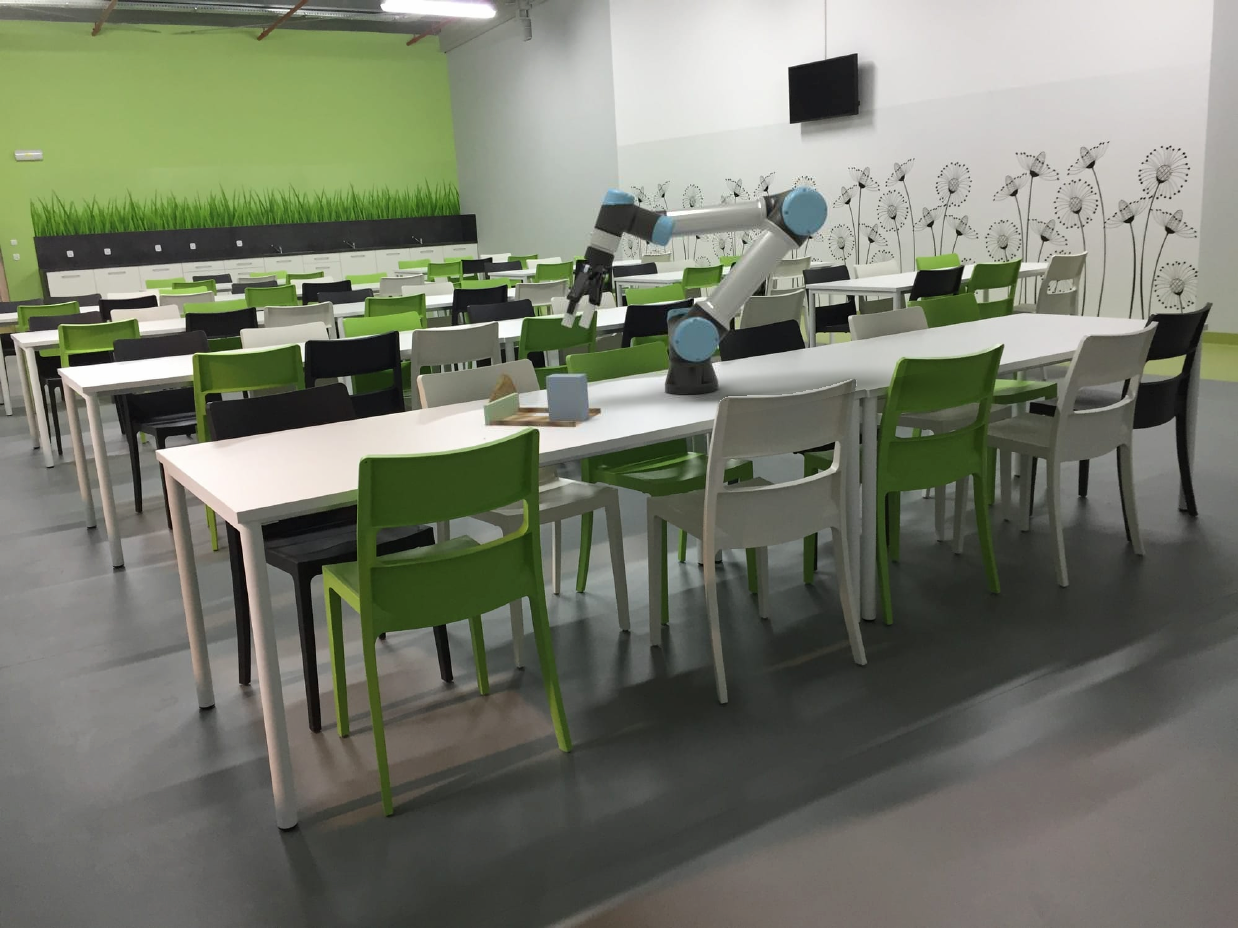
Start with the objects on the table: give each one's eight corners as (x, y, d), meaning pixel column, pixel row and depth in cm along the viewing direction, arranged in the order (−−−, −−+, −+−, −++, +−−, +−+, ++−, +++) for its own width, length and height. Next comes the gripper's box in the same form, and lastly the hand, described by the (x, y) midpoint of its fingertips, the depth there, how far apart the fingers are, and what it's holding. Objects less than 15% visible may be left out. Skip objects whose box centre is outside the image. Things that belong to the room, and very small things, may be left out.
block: (589, 417, 248) (586, 373, 245) (582, 421, 244) (579, 377, 241) (556, 417, 251) (553, 374, 248) (549, 420, 247) (545, 377, 244)
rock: (530, 403, 265) (525, 392, 274) (508, 380, 261) (504, 370, 270) (499, 430, 266) (495, 418, 275) (478, 407, 262) (474, 396, 271)
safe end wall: (520, 415, 262) (518, 392, 260) (490, 429, 247) (487, 405, 245) (516, 415, 262) (514, 392, 261) (485, 429, 247) (483, 405, 246)
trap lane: (601, 416, 253) (600, 408, 253) (574, 430, 238) (574, 421, 238) (520, 415, 262) (519, 407, 261) (490, 429, 247) (489, 420, 246)
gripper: (603, 248, 271) (578, 322, 276) (573, 239, 248) (545, 320, 252) (628, 258, 270) (602, 332, 274) (599, 250, 246) (571, 331, 251)
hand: (575, 326), depth 263 cm, fingers open, 13 cm apart
